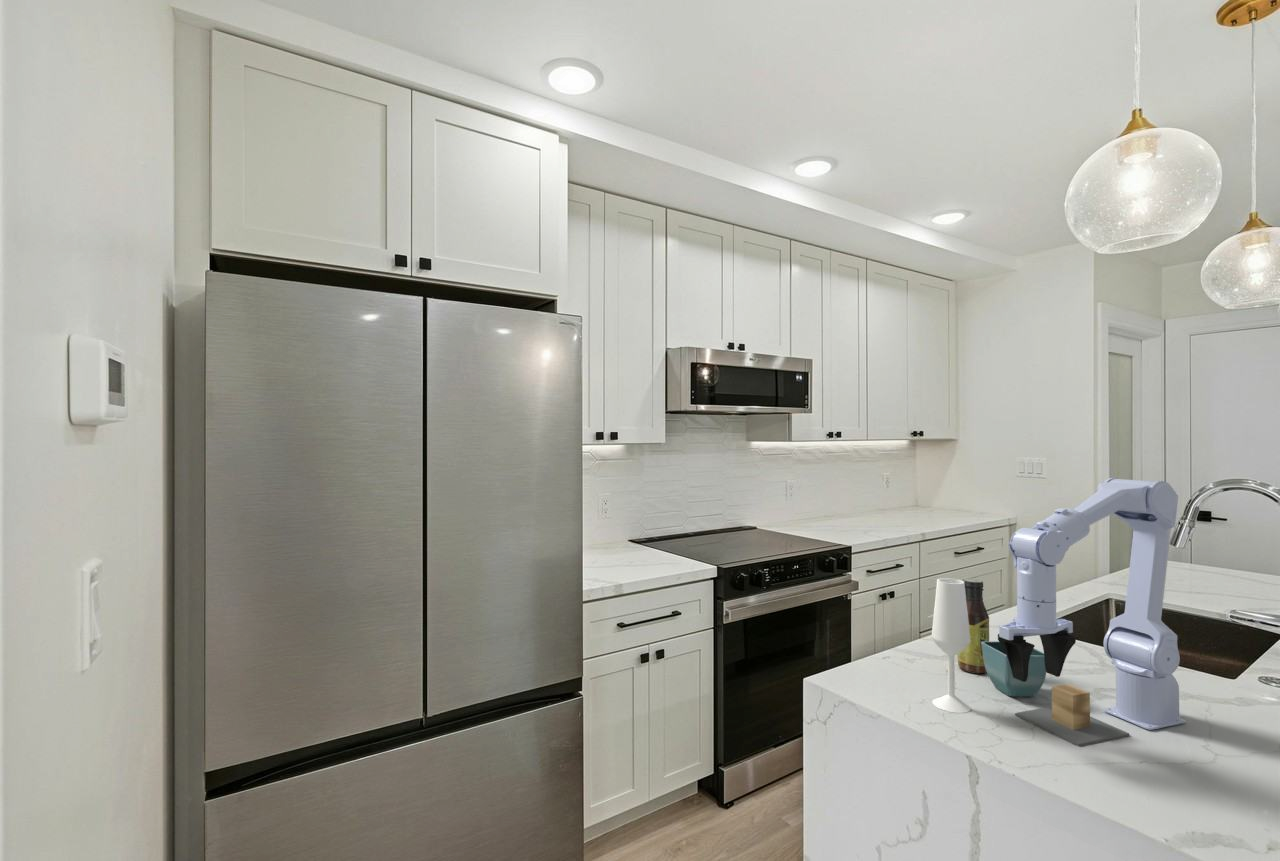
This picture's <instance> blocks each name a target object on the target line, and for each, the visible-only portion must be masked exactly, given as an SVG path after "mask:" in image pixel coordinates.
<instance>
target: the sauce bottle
mask: <svg viewBox="0 0 1280 861" xmlns="http://www.w3.org/2000/svg"><path fill="white" fill-rule="evenodd" d="M962 581H964V584H965V593H966V602H967V612H968V621H969V630H970V639H971V641H970V644H969V645H968V647H967V648H966V649H965V650H963V651H962V652H960V653H959V654H957V664H958V668H959V669H961V670H963V671H965V672H968V673H972V674H987V672H986V669H985V665H984V659H983V652H982V644H981V642H984V641H990V616H989V614H988V611H987V609H986V606H985V603H984V599H983V588H984V581H983V580H980V579H976V578H963V579H962Z"/></svg>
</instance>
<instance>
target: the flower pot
mask: <svg viewBox="0 0 1280 861" xmlns="http://www.w3.org/2000/svg"><path fill="white" fill-rule="evenodd" d="M981 644H982V652H983V659H984V665H985V669H986V674H987V676H988V677H989V679H990V681H991V683H992V684H993V686H994V687H995V688H996V689H998V690H999V691H1001V692H1002V693H1003V694H1005V695H1006V696H1008V697H1034V696H1035V695H1036V694H1037V693H1038V692H1039V691H1040V689H1041V688H1042V686H1043V684H1044V683H1045V679H1046V675H1047V673H1046V669H1045V661H1044V651H1041V650H1039V649H1036V648H1035V647H1034V648H1033V650H1032V653H1031V656H1030V660H1029V667H1028V677H1027V681H1026V682H1022V681H1020V680H1018V679H1015V678H1013V675H1012V671H1011V667H1010V664H1009V661H1008V658H1007V655H1006V653H1005V651H1004V649H1003V647H1002V645H1001V644H1000V642H999V641H995V640H993V641H992V640H989V641H984V642H981Z"/></svg>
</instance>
